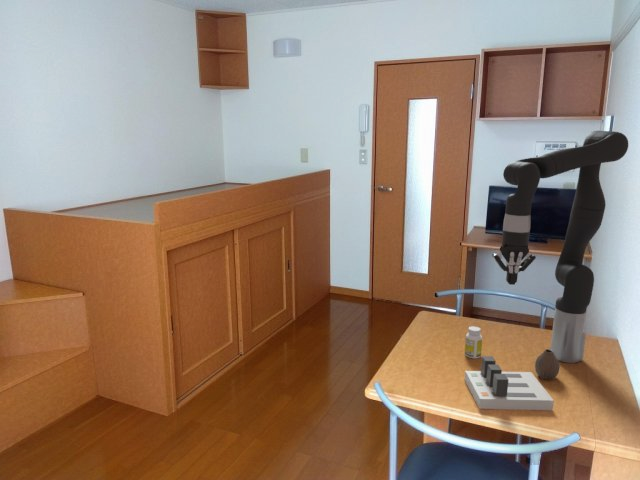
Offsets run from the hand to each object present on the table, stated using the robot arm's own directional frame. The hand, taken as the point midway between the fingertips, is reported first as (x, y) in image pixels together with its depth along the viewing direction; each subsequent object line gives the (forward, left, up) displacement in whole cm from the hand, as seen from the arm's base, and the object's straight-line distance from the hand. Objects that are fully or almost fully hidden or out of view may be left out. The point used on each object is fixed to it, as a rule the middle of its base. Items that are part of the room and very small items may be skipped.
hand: (511, 283), depth 150 cm
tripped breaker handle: (+8, +21, -25) cm, 34 cm away
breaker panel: (+4, +15, -29) cm, 33 cm away
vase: (-12, +4, -29) cm, 32 cm away
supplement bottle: (+7, -10, -29) cm, 32 cm away
